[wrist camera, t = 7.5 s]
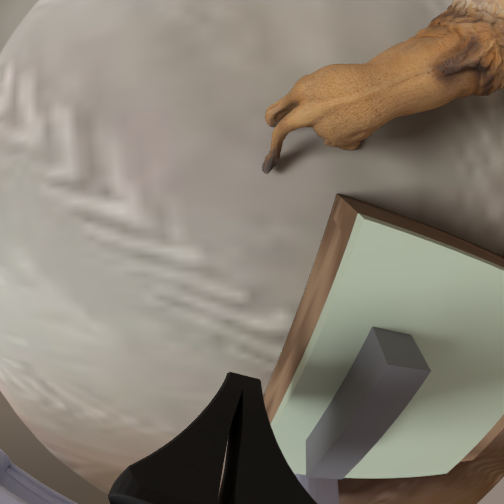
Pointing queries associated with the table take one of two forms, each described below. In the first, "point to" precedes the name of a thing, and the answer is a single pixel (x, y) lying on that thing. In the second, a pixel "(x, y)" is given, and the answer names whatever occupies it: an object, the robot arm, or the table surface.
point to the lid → (397, 361)
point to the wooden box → (322, 283)
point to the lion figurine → (397, 79)
